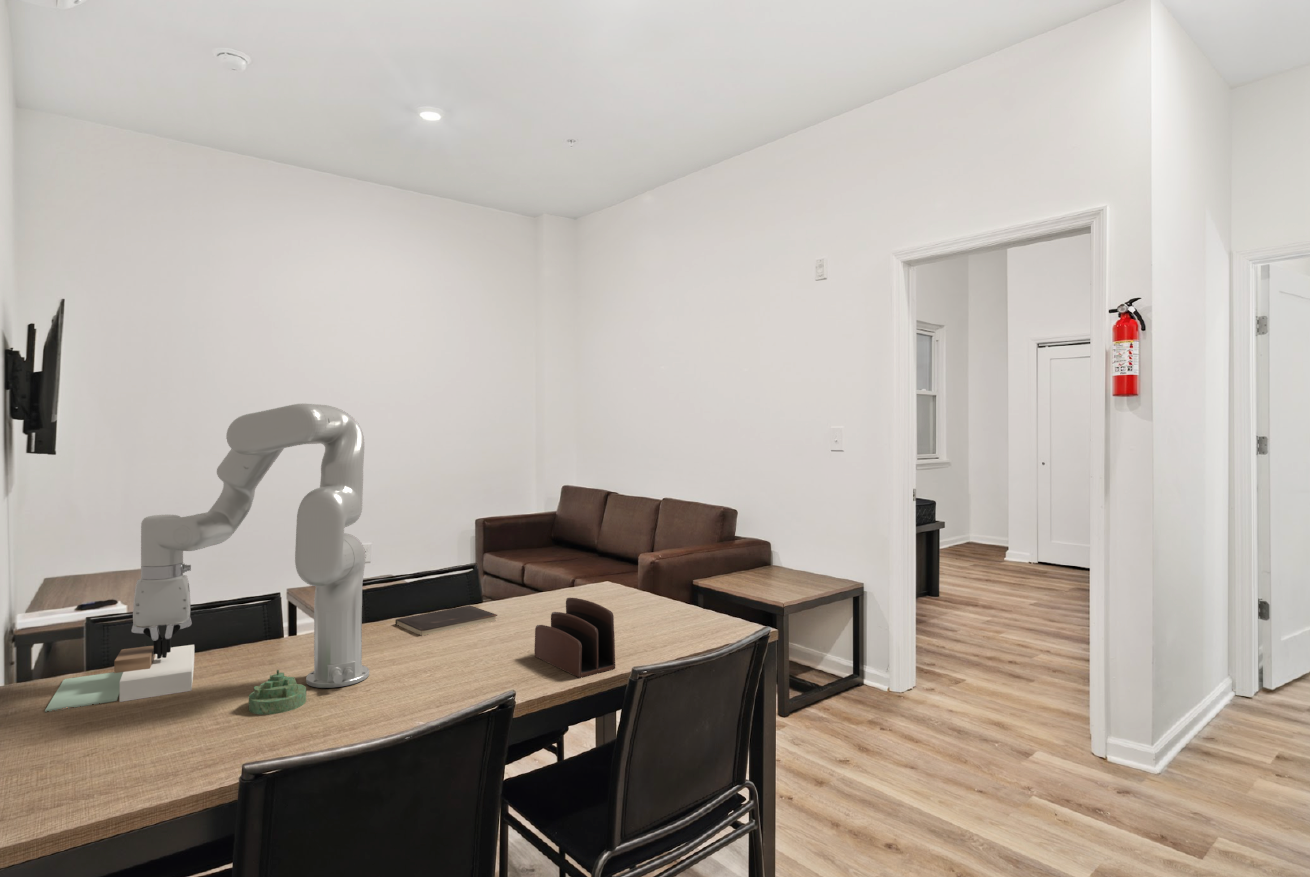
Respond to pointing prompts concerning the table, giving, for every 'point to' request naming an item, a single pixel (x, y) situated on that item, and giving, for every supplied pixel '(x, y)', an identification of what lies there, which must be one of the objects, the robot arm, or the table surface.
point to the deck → (160, 676)
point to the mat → (86, 691)
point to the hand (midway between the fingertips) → (162, 656)
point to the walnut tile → (134, 659)
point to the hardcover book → (445, 620)
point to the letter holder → (578, 639)
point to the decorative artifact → (277, 695)
